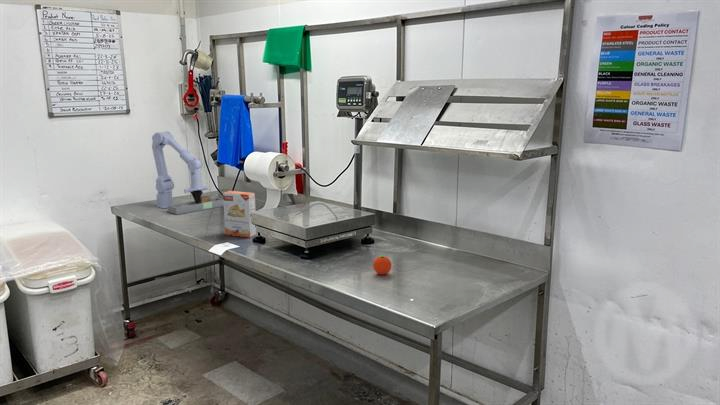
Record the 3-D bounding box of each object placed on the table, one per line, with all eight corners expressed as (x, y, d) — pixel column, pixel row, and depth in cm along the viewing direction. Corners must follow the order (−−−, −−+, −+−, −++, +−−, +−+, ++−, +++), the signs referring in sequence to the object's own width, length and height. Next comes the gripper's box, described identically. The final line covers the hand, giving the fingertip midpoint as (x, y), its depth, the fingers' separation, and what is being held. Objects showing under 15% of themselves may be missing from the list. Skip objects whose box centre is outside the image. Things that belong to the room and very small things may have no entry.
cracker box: (224, 235, 248) (222, 192, 244) (231, 232, 254) (229, 190, 250) (250, 238, 244) (248, 194, 239) (256, 235, 249) (255, 192, 245)
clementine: (372, 270, 201) (372, 252, 199) (390, 270, 201) (390, 252, 200) (373, 277, 193) (373, 259, 191) (392, 277, 193) (392, 258, 192)
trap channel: (166, 211, 296) (166, 205, 296) (215, 203, 320) (215, 197, 319) (177, 215, 289) (177, 208, 288) (226, 206, 312) (226, 199, 312)
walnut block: (197, 203, 307) (196, 197, 306) (206, 202, 311) (205, 195, 310) (202, 205, 303) (201, 198, 303) (211, 203, 308) (210, 196, 307)
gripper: (188, 182, 293) (189, 206, 296) (210, 179, 304) (211, 202, 306) (181, 181, 298) (183, 204, 300) (203, 178, 308) (205, 200, 311)
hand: (197, 203), depth 304 cm, fingers closed
